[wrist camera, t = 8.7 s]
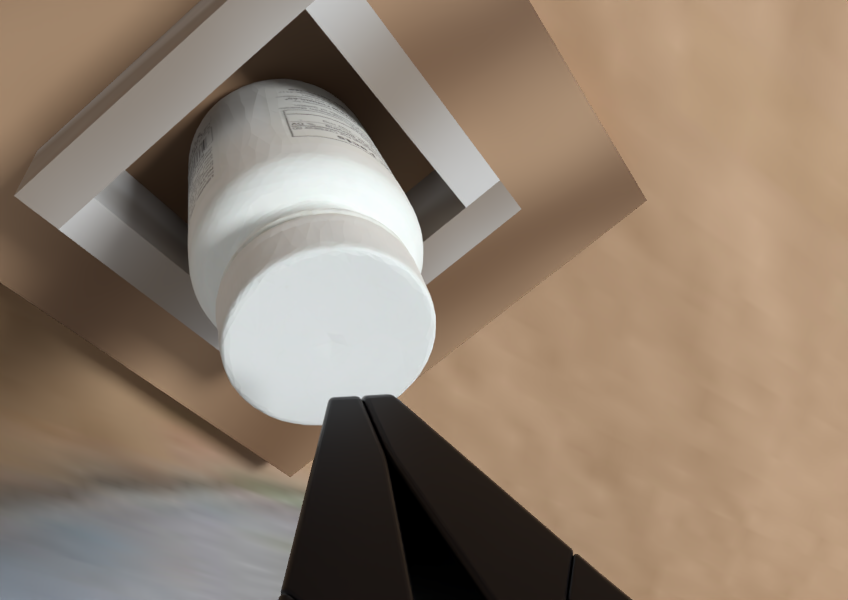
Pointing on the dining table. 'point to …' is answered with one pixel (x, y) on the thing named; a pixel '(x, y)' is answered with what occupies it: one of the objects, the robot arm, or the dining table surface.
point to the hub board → (325, 68)
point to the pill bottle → (304, 252)
